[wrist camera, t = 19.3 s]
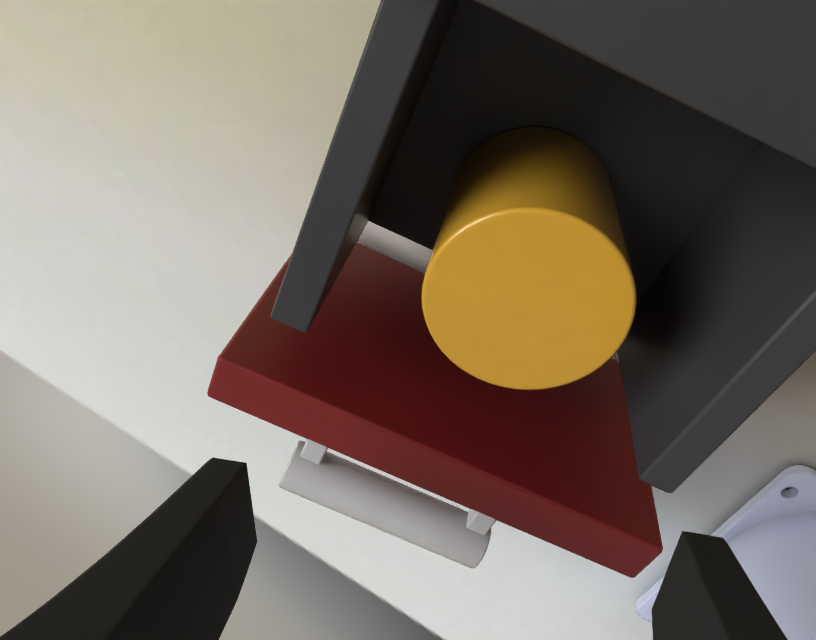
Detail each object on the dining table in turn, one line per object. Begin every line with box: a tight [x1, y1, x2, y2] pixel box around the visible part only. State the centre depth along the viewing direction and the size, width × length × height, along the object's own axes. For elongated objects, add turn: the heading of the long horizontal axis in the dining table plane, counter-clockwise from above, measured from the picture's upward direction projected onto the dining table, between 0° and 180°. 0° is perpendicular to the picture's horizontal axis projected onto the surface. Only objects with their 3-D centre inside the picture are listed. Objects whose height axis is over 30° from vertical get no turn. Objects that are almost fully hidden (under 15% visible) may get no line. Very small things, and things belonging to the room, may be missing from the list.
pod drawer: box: [208, 0, 816, 578], centre depth 15 cm, size 17×10×7 cm, turn 157°
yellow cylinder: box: [421, 127, 637, 390], centre depth 14 cm, size 4×4×5 cm
